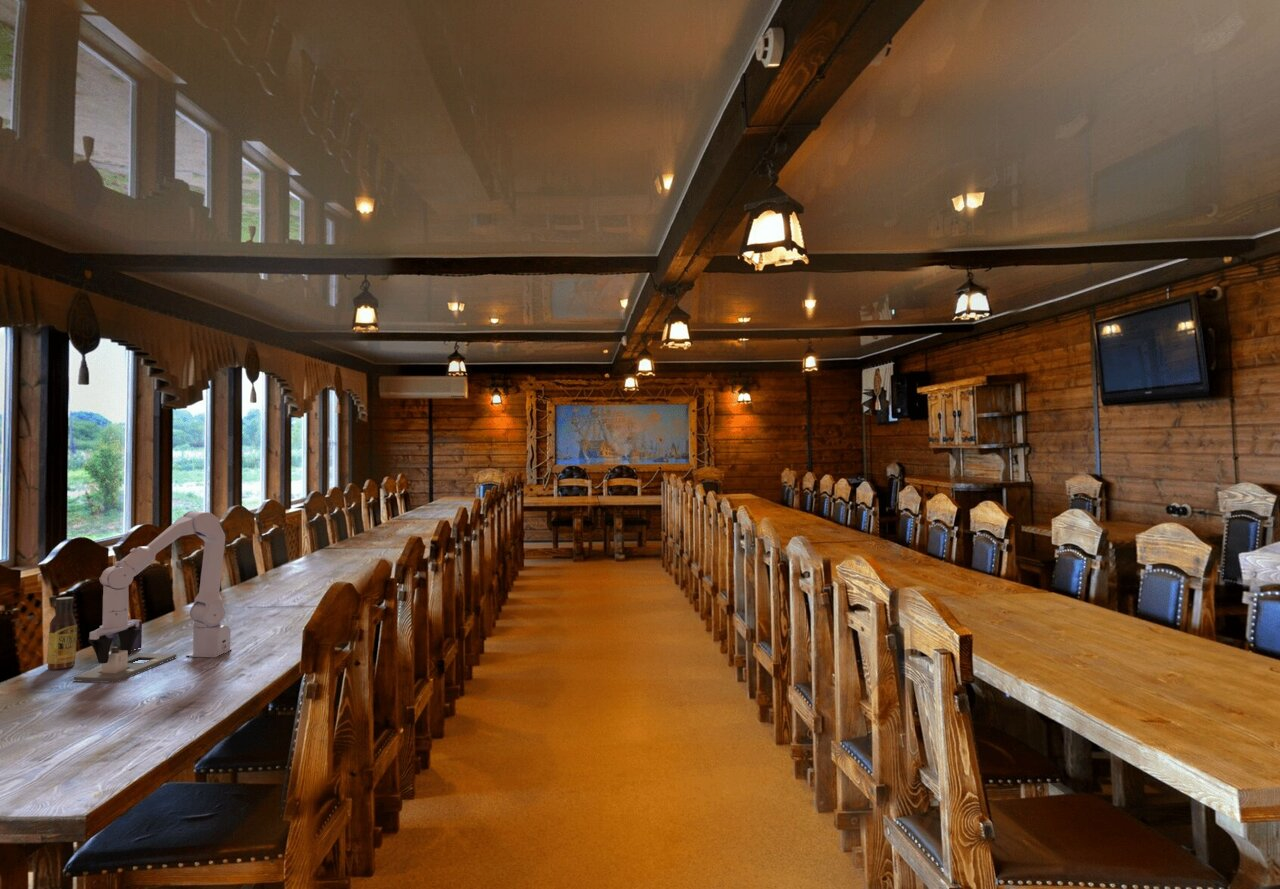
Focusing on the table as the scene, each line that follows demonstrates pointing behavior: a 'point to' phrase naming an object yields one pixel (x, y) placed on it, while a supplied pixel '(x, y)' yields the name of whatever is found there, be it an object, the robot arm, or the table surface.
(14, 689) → the table surface
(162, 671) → the table surface
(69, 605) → the sauce bottle
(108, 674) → the panel
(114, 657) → the plug
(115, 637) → the flask
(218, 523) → the robot arm
